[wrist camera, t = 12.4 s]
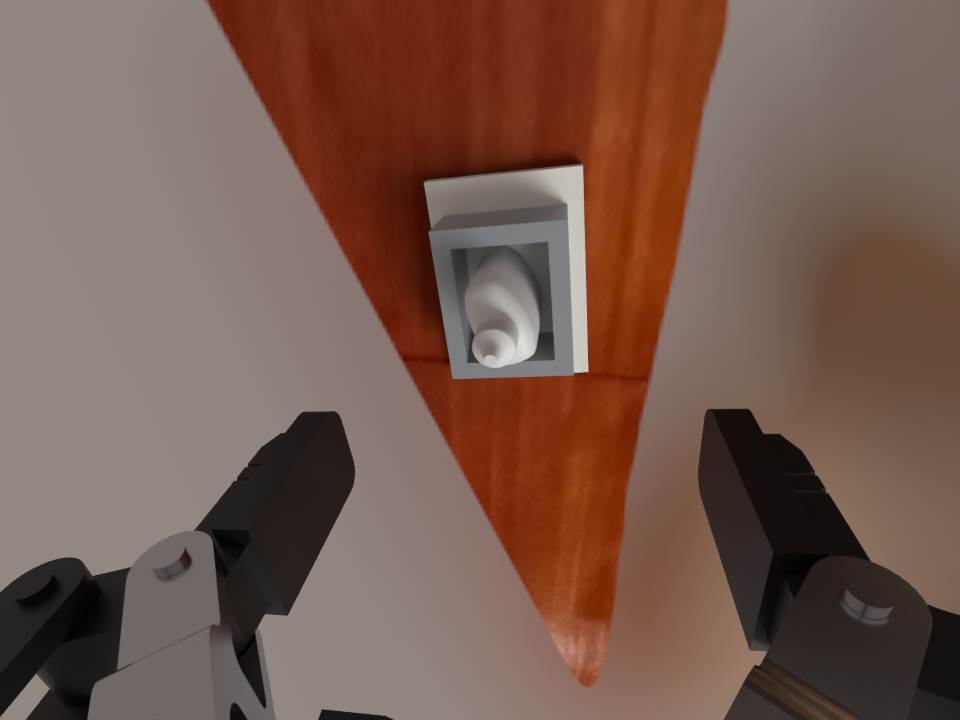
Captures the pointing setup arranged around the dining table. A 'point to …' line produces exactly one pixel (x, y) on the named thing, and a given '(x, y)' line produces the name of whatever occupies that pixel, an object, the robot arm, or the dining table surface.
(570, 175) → the socket
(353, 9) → the dining table surface
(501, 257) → the eye dropper bottle
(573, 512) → the dining table surface
